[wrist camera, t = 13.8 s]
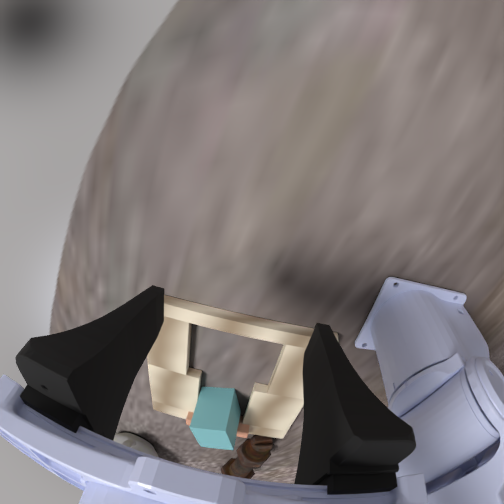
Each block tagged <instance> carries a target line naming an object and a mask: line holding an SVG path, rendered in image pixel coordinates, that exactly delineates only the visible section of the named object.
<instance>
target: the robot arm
mask: <svg viewBox="0 0 504 504" xmlns="http://www.w3.org/2000/svg"><path fill="white" fill-rule="evenodd" d="M396 282H397V284H396V285H393V284H394V283H396ZM455 296H456V297H455ZM454 297H455V298H454ZM466 298H467V297H466V295H465V294H464V293H460V292H456V291H452V290H447V289H443V288H439V287H435V286H430V285H426V284H422V283H417V282H413V281H409V280H404V279H400V278H395V277H388V278H387V279H386V280H385V282H384V284H383V286H382V288H381V291H380V293H379V295H378V297H377V299H376V301H375V303H374V305H373V307H372V309H371V311H370V313H369V315H368V317H367V319H366V321H365V323H364V325H363V327H362V329H361V331H360V333H359V335H358V337H357V339H356V340H355V346H356V347H357V348H363V349H370V350H376V354H377V357H378V361H379V365H380V370H381V374H382V378H383V382H384V387H385V391H386V396H387V400H388V405H389V407H388V408H387V407H386V406H385V405H384V404H383V403H382V402H381V401H380V400H379V399H378V398H377V397H376V396H375V395H374V394H373V393H372V392H371V390H370V389H369V388H368V387H367V386H366V384H365V383H364V382H363V381H362V379H361V378H360V377H359V375H358V374H357V372H356V371H355V369H354V368H353V367H352V365H351V363H350V362H349V360H348V358H347V357H346V355H345V353H344V352H343V350H342V348H341V346H340V344H339V342H338V341H337V339H336V337H335V335H334V333H333V331H332V329H331V327H330V326H329V325H325V324H320V323H317V324H316V326H315V329H314V331H313V333H312V336H311V338H310V340H309V343H308V345H307V347H306V350H305V352H304V359H303V371H302V372H303V398H304V422H303V432H302V441H301V449H300V456H299V462H298V468H297V473H296V478H295V483H294V484H287V483H277V482H268V481H260V480H253V479H247V478H240V477H235V476H229V475H224V474H219V473H215V472H210V471H206V470H201V469H197V468H193V467H189V466H186V465H182V464H178V463H175V462H172V461H168V460H165V459H162V458H159V457H156V456H152V455H150V454H147V453H144V452H141V451H138V450H135V449H133V448H130V447H127V446H125V445H122V444H120V443H117V442H115V441H113V440H114V436H115V433H116V429H117V426H118V422H119V419H120V416H121V413H122V410H123V407H124V404H125V402H126V399H127V396H128V394H129V391H130V389H131V386H132V384H133V381H134V379H135V377H136V375H137V373H138V371H139V369H140V367H141V366H142V364H143V362H144V360H145V359H146V357H147V355H148V353H149V352H150V350H151V348H152V346H153V344H154V343H155V341H156V339H157V337H158V335H159V332H160V330H161V327H162V325H163V322H164V288H160V287H156V286H153V285H152V286H151V287H149V288H148V289H146V290H145V291H143V292H142V293H140V294H139V295H137V296H136V297H134V298H133V299H131V300H130V301H128V302H127V303H125V304H124V305H122V306H120V307H119V308H117V309H115V310H114V311H112V312H110V313H108V314H107V315H105V316H103V317H101V318H99V319H97V320H94V321H92V322H90V323H88V324H85V325H82V326H80V327H77V328H74V329H71V330H68V331H64V332H61V333H57V334H52V335H47V336H41V337H34V338H31V339H30V340H29V341H28V342H27V343H26V345H25V346H24V347H23V348H22V349H21V351H20V352H19V353H18V354H17V356H16V364H17V366H18V368H19V370H20V372H21V374H22V376H23V377H24V379H25V381H26V383H27V384H28V385H27V386H26V388H25V389H24V388H23V387H22V386H21V385H19V384H18V383H17V382H15V381H14V380H12V379H11V378H9V377H8V376H7V375H5V374H3V375H2V377H1V378H0V435H1V436H2V437H3V438H4V439H6V440H7V441H8V442H9V443H11V444H12V445H13V446H15V447H16V448H17V449H19V450H20V451H21V452H23V453H24V454H26V455H27V456H28V457H30V458H31V459H33V460H34V461H35V462H37V463H38V464H40V465H41V466H43V467H45V468H46V469H47V470H49V471H50V472H52V473H54V474H55V475H57V476H59V477H60V478H62V479H63V480H66V481H67V482H68V483H70V484H72V485H74V486H76V487H78V488H79V489H81V490H83V491H84V492H83V494H82V497H81V499H80V502H79V504H504V376H503V374H502V373H501V372H500V370H499V369H498V368H497V367H496V366H495V364H494V363H493V362H491V361H490V357H489V349H488V346H487V343H486V341H485V339H484V338H483V336H482V334H481V333H480V331H479V329H478V328H477V326H476V325H475V323H474V321H473V320H472V318H471V317H470V315H469V314H468V312H467V311H466V309H465V308H464V306H463V304H464V302H465V301H466ZM364 343H366V344H364Z"/></svg>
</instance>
